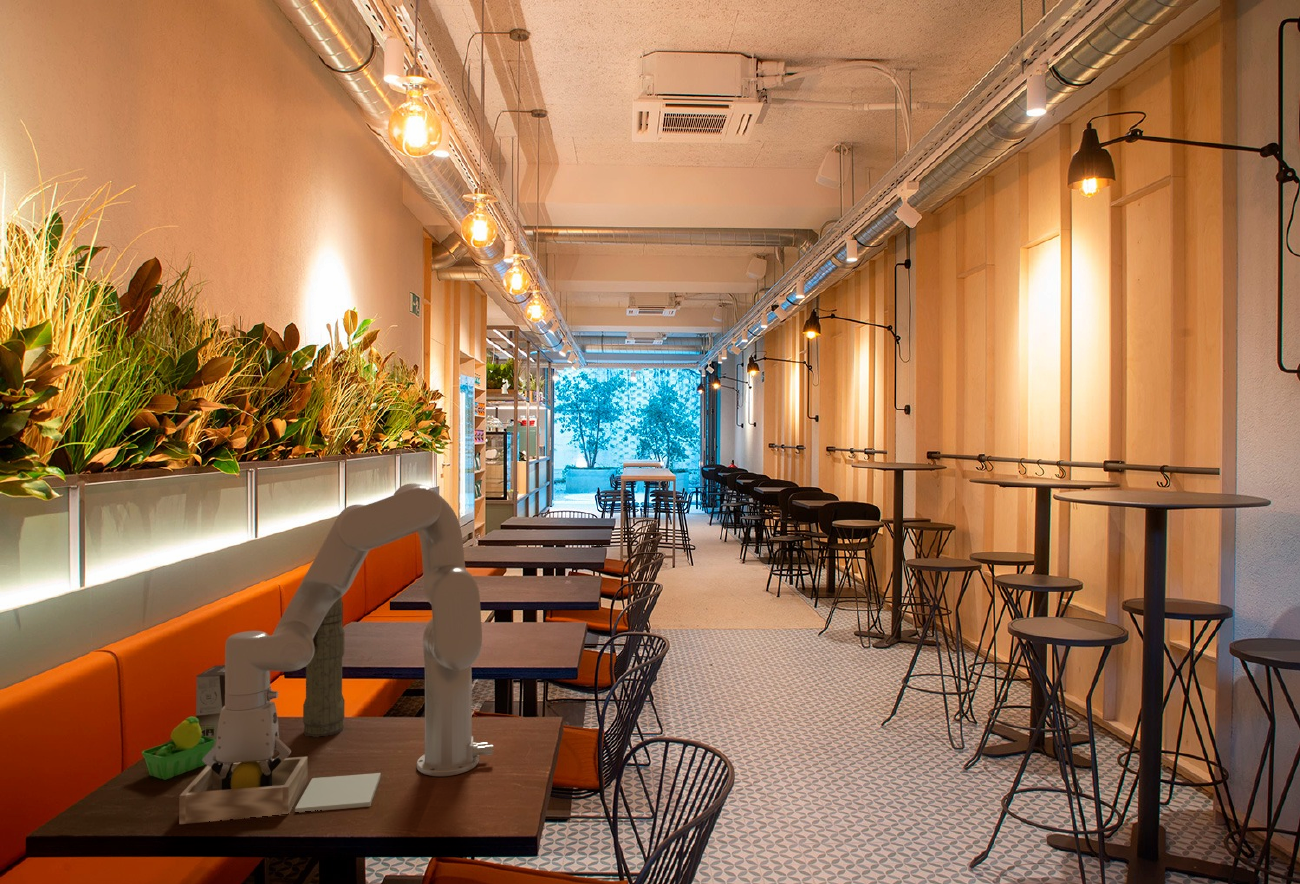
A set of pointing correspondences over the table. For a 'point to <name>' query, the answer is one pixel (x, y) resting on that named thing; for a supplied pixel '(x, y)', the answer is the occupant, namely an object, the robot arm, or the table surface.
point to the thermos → (326, 677)
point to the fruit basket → (179, 751)
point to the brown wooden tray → (243, 795)
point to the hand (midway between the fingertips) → (247, 794)
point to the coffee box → (210, 699)
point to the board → (339, 792)
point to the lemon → (246, 775)
